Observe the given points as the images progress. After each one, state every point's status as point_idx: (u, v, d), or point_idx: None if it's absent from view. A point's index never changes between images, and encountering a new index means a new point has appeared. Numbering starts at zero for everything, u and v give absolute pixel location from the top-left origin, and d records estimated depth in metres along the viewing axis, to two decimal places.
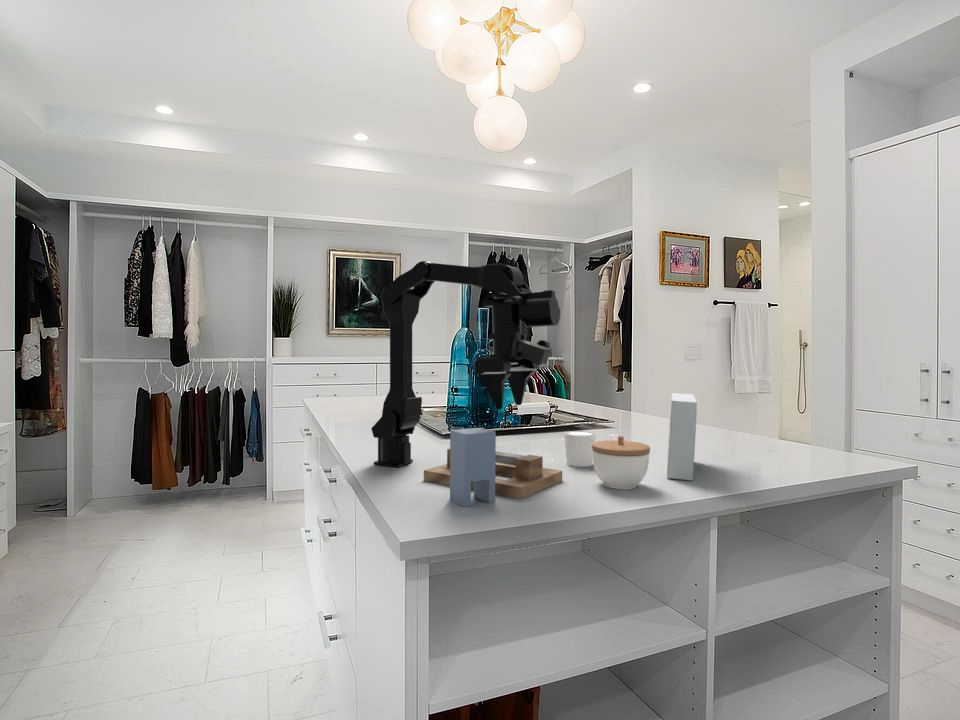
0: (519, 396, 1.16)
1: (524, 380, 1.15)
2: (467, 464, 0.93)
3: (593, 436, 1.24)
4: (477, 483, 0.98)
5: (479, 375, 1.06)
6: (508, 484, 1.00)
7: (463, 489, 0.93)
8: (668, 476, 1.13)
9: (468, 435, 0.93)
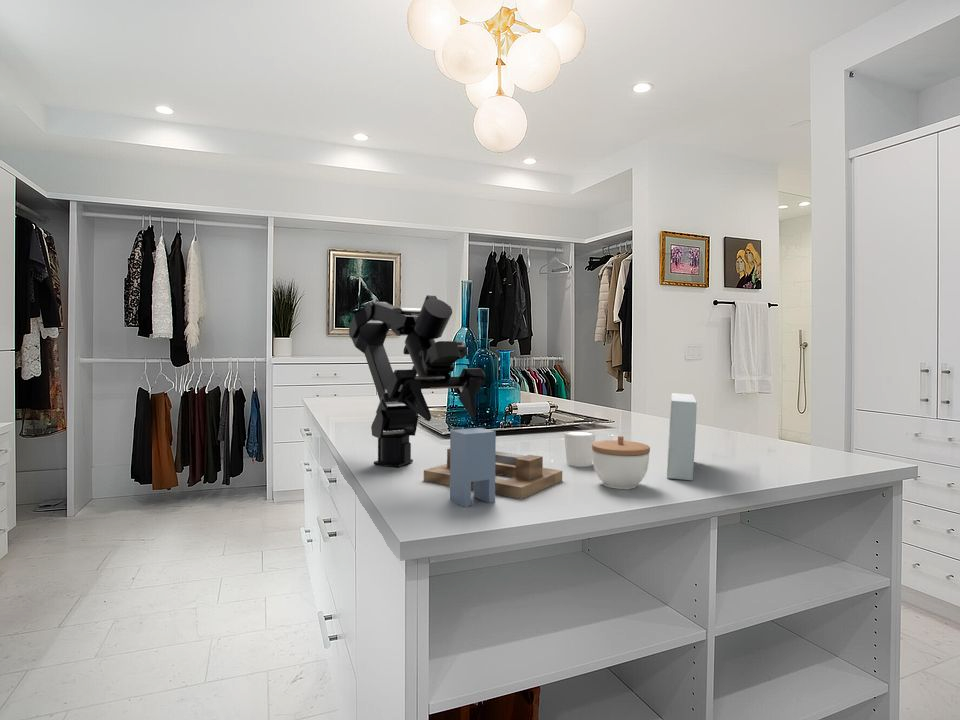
0: (470, 408, 1.05)
1: (468, 391, 1.07)
2: (467, 464, 0.93)
3: (593, 436, 1.24)
4: (477, 483, 0.98)
5: (397, 399, 1.03)
6: (508, 484, 1.00)
7: (463, 489, 0.93)
8: (668, 476, 1.13)
9: (468, 435, 0.93)
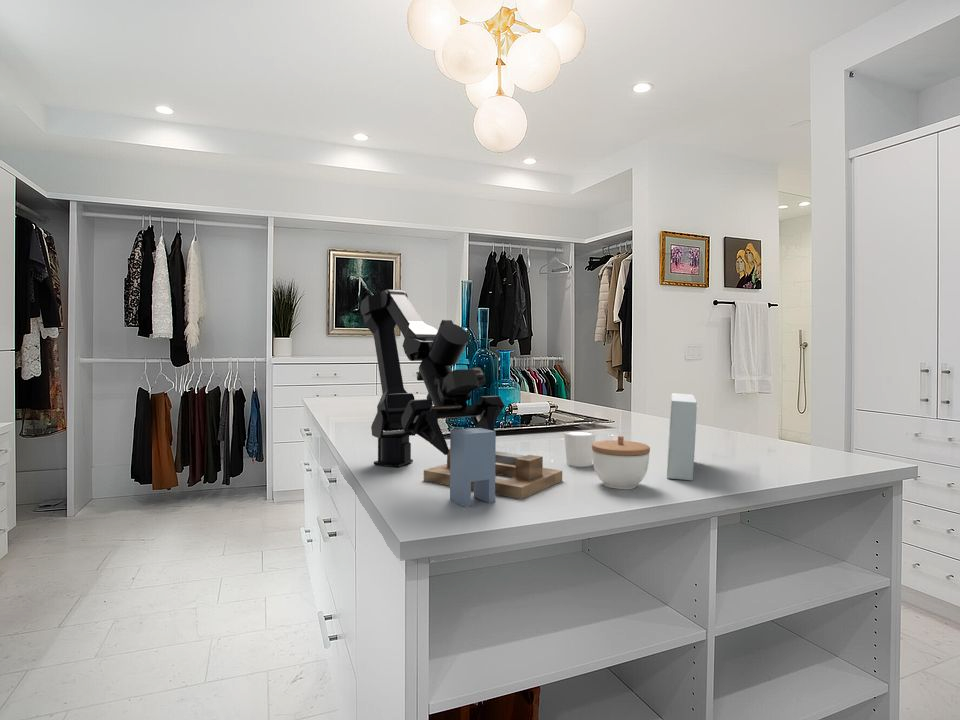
0: None
1: (487, 421, 1.01)
2: (467, 464, 0.93)
3: (593, 436, 1.24)
4: (477, 483, 0.98)
5: (412, 431, 0.98)
6: (508, 484, 1.00)
7: (463, 489, 0.93)
8: (668, 476, 1.13)
9: (468, 435, 0.93)
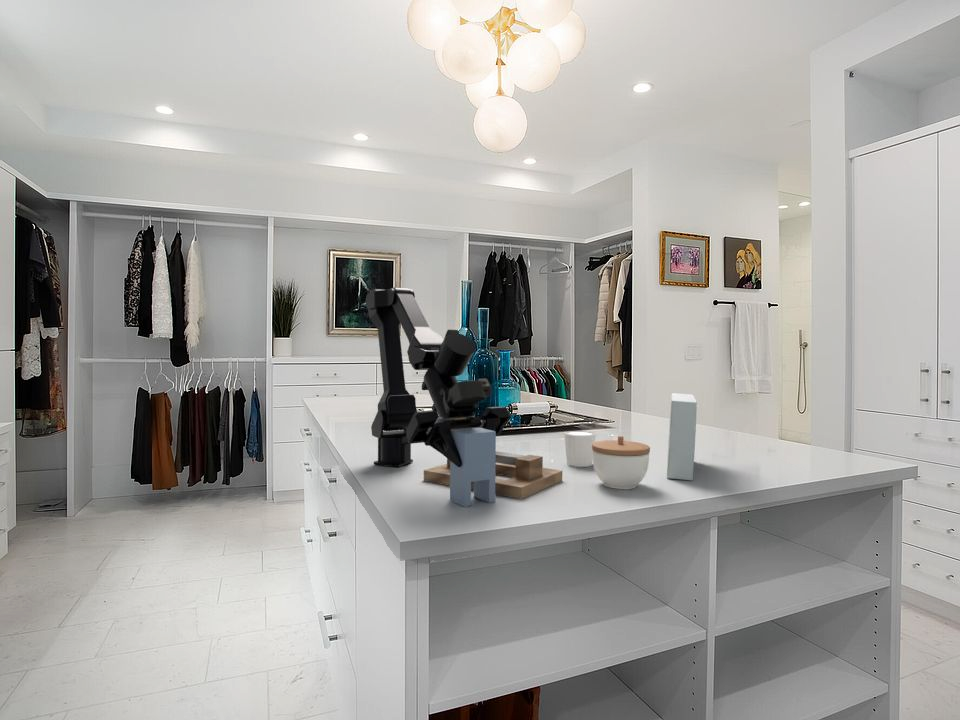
0: None
1: None
2: (467, 464, 0.92)
3: (593, 436, 1.24)
4: (477, 483, 0.98)
5: (425, 442, 0.97)
6: (508, 484, 1.00)
7: (463, 489, 0.93)
8: (668, 476, 1.13)
9: (468, 435, 0.92)
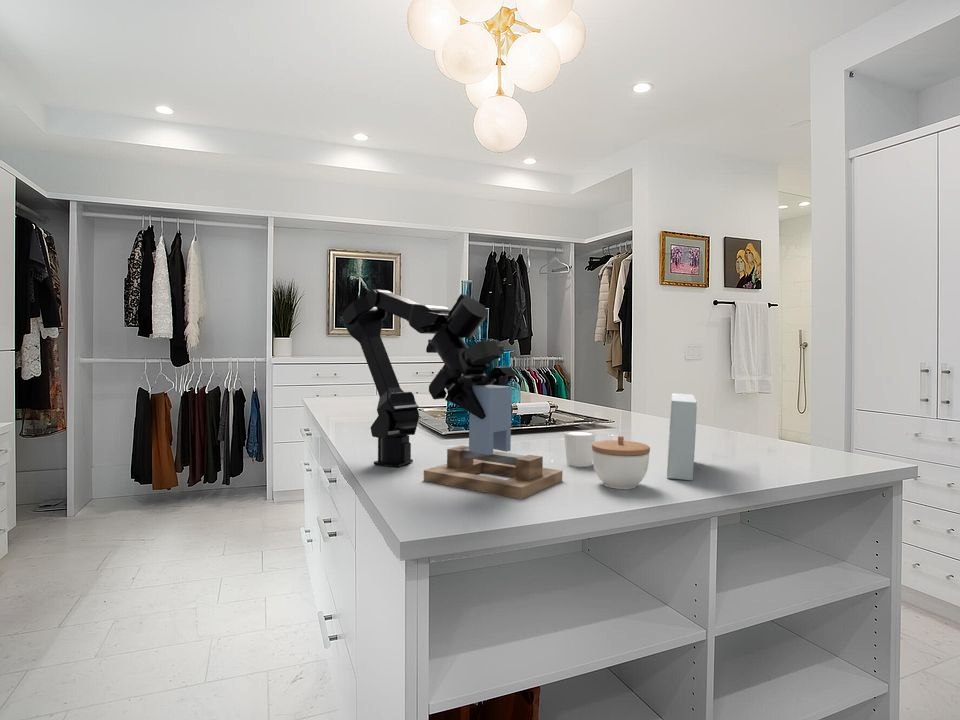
0: None
1: None
2: (490, 416, 1.01)
3: (593, 436, 1.24)
4: None
5: (446, 398, 1.03)
6: (508, 484, 1.00)
7: (486, 439, 1.01)
8: (668, 476, 1.13)
9: (492, 389, 1.01)
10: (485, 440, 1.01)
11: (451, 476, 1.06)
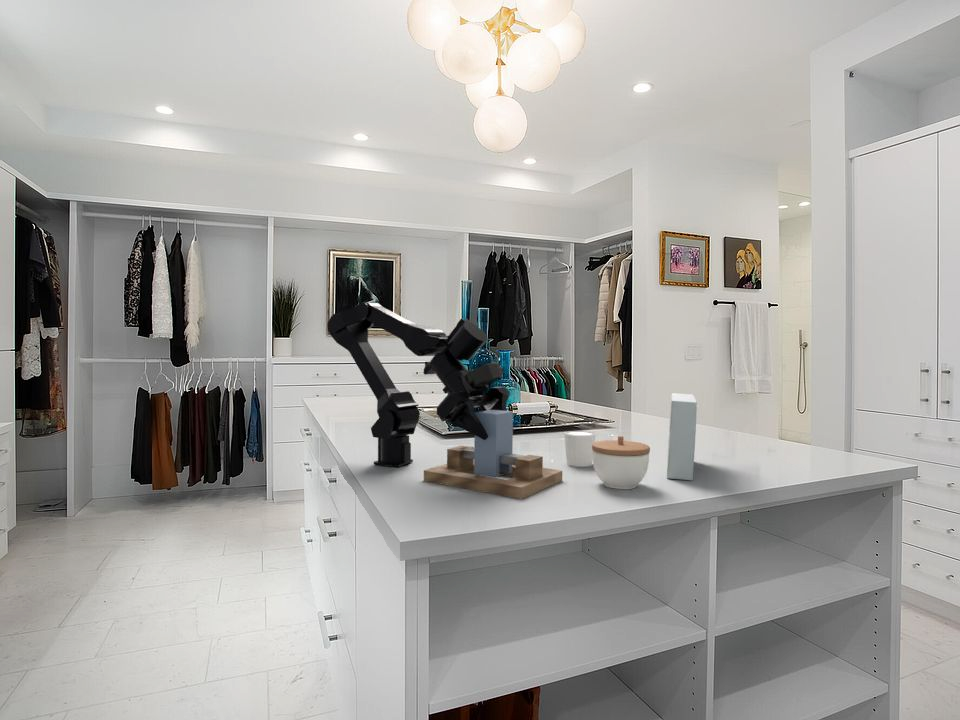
0: None
1: (502, 409, 1.15)
2: (497, 440, 1.07)
3: (593, 436, 1.24)
4: None
5: (448, 421, 1.06)
6: (508, 484, 1.00)
7: (493, 463, 1.07)
8: (668, 476, 1.13)
9: (498, 415, 1.07)
10: (492, 463, 1.07)
11: (451, 476, 1.06)
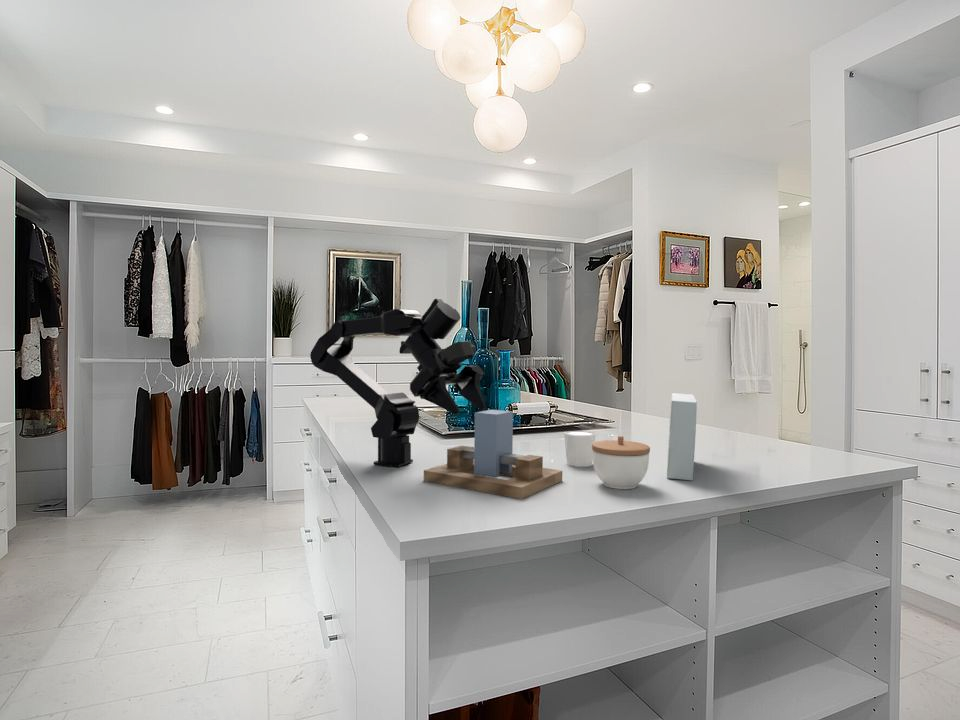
0: (479, 402, 1.17)
1: (475, 386, 1.18)
2: (497, 440, 1.07)
3: (593, 436, 1.24)
4: None
5: (421, 396, 1.10)
6: (508, 484, 1.00)
7: (493, 463, 1.07)
8: (668, 476, 1.13)
9: (498, 415, 1.07)
10: (492, 463, 1.07)
11: (451, 476, 1.06)
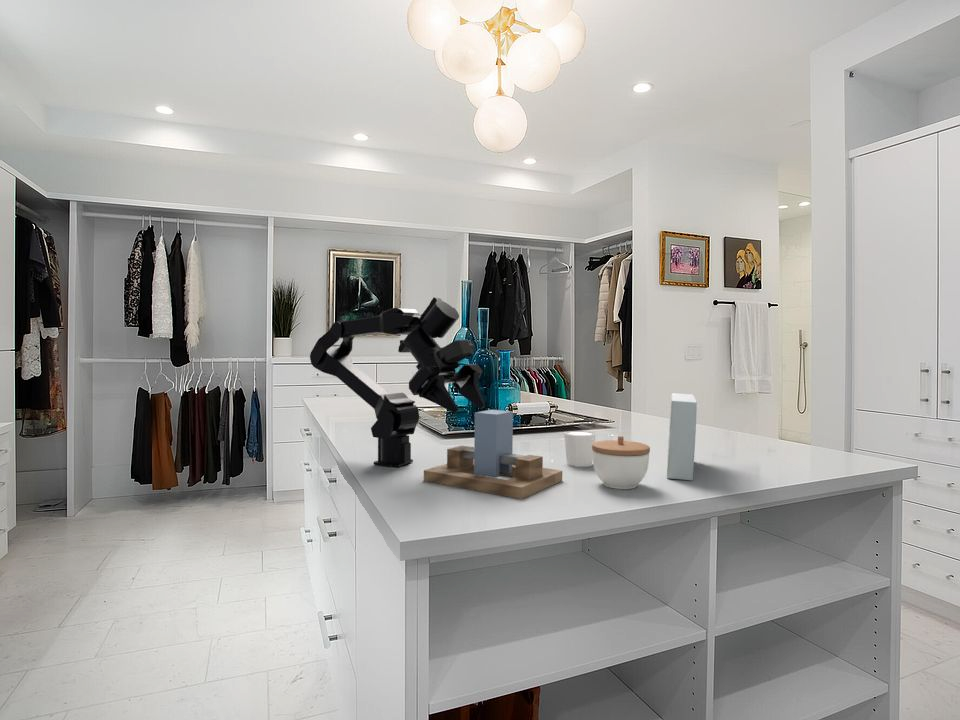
0: (478, 400, 1.17)
1: (473, 385, 1.19)
2: (497, 440, 1.07)
3: (593, 436, 1.24)
4: None
5: (420, 394, 1.10)
6: (508, 484, 1.00)
7: (493, 463, 1.07)
8: (668, 476, 1.13)
9: (498, 415, 1.07)
10: (492, 463, 1.07)
11: (451, 476, 1.06)
